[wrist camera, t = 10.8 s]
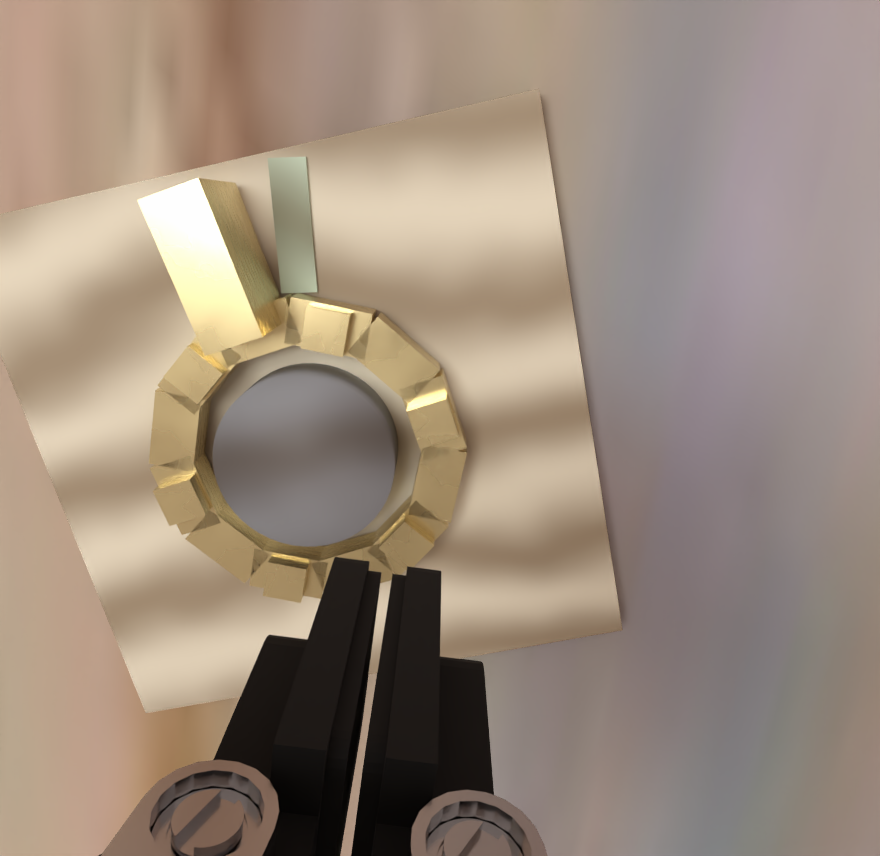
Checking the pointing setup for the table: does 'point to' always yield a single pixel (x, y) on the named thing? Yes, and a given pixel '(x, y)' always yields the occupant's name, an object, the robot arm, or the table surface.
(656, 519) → the table surface
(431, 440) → the ring nut
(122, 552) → the base
